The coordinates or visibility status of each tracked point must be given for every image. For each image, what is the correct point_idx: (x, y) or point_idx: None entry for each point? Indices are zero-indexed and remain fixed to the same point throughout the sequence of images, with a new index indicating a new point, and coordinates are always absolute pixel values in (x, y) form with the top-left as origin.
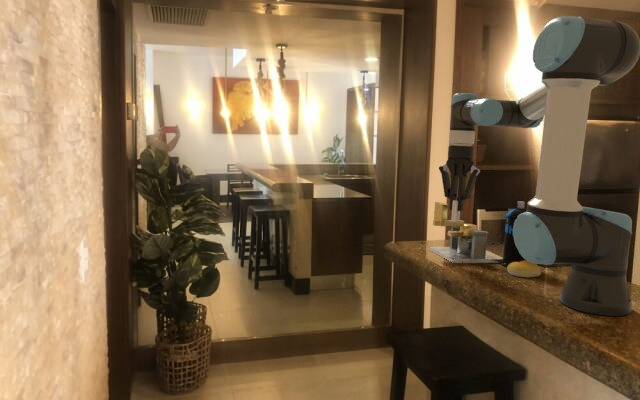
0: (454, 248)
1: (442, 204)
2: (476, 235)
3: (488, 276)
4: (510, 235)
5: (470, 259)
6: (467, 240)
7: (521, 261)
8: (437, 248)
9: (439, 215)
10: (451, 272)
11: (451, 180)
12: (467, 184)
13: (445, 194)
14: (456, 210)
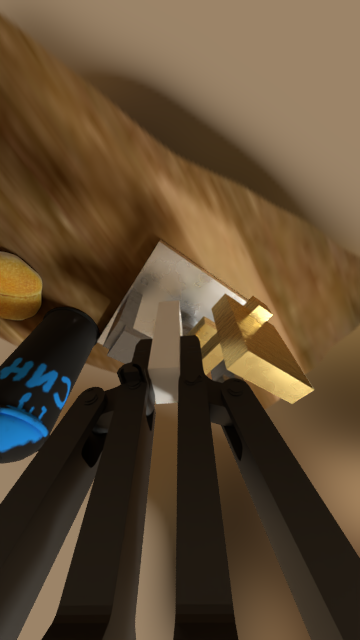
0: None
1: (248, 350)
2: (119, 327)
3: (13, 182)
4: (30, 357)
5: (134, 281)
6: None
7: (9, 302)
8: None
9: (251, 326)
10: (89, 119)
11: (222, 563)
12: (23, 527)
13: (244, 393)
14: (154, 331)
